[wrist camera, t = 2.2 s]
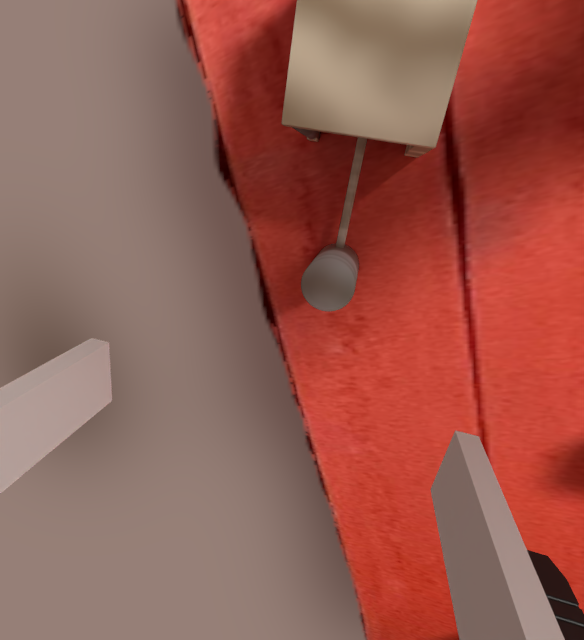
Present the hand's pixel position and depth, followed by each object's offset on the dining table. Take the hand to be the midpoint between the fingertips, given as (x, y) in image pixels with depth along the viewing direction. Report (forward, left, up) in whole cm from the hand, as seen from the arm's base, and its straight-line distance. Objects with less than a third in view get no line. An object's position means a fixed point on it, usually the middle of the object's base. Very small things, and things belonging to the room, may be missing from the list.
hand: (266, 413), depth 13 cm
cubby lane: (-17, 0, -25) cm, 31 cm away
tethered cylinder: (-10, 0, -25) cm, 27 cm away
